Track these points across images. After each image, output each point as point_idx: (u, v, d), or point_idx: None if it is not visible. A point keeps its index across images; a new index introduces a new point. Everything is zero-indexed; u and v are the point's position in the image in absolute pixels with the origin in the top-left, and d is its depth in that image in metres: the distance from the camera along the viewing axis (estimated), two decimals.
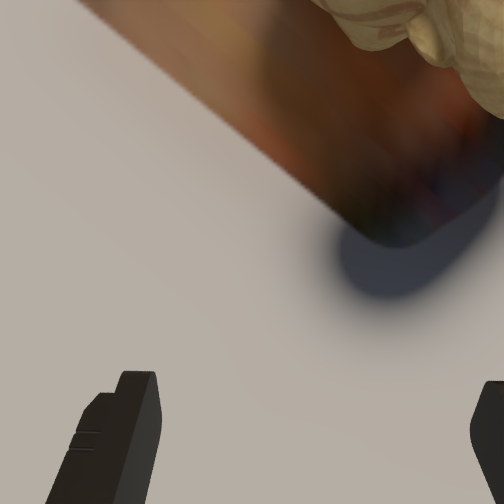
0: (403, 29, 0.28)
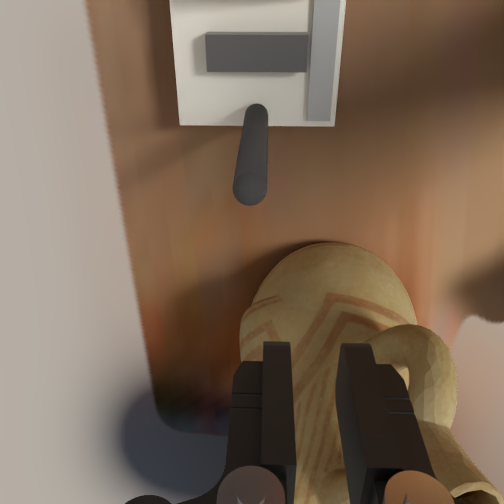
0: None
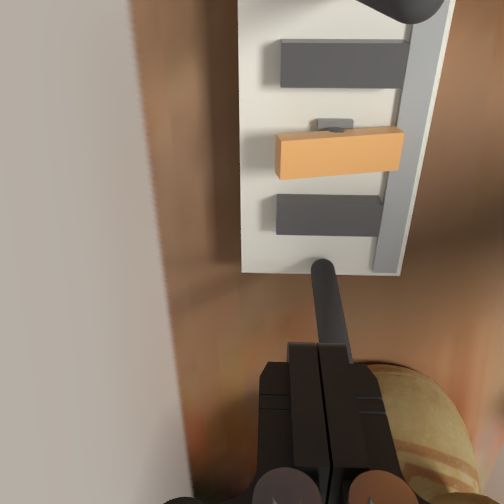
0: None
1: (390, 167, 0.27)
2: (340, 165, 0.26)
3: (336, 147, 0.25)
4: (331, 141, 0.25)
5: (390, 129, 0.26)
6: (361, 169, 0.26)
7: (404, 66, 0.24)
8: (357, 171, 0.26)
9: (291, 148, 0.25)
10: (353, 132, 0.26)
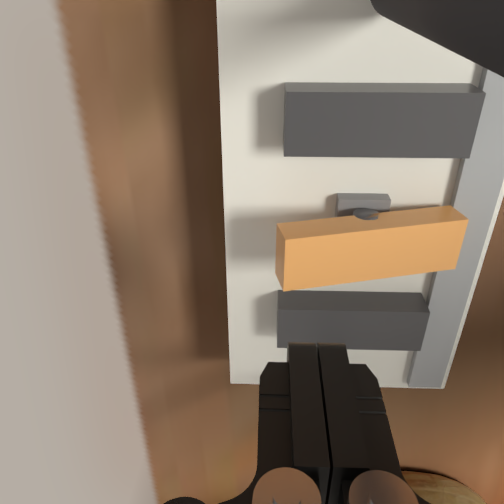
0: None
1: (444, 266, 0.18)
2: (372, 267, 0.18)
3: (367, 244, 0.17)
4: (360, 236, 0.17)
5: (446, 212, 0.18)
6: (402, 271, 0.18)
7: (475, 126, 0.16)
8: (396, 273, 0.18)
9: (300, 249, 0.16)
10: (393, 220, 0.17)
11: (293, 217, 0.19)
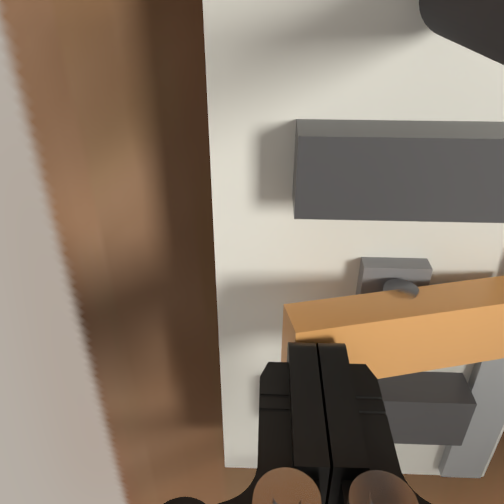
0: None
1: (500, 353, 0.14)
2: (409, 359, 0.13)
3: (404, 333, 0.13)
4: (396, 324, 0.12)
5: None
6: (447, 362, 0.14)
7: None
8: (439, 365, 0.14)
9: None
10: (437, 300, 0.13)
11: (304, 284, 0.15)
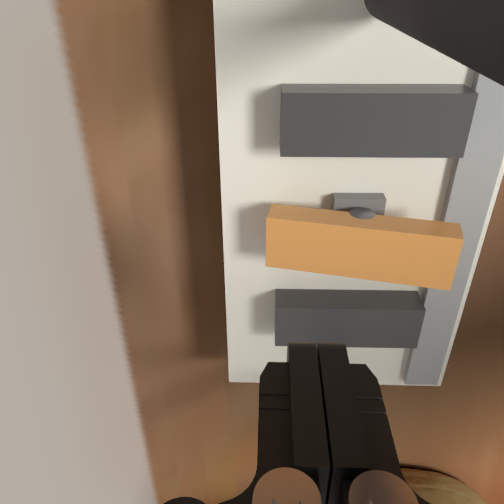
0: None
1: (436, 284, 0.17)
2: (354, 264, 0.18)
3: (348, 240, 0.17)
4: (340, 230, 0.17)
5: (447, 228, 0.17)
6: (387, 277, 0.18)
7: (468, 126, 0.16)
8: (380, 278, 0.18)
9: (279, 229, 0.18)
10: (382, 223, 0.17)
11: None
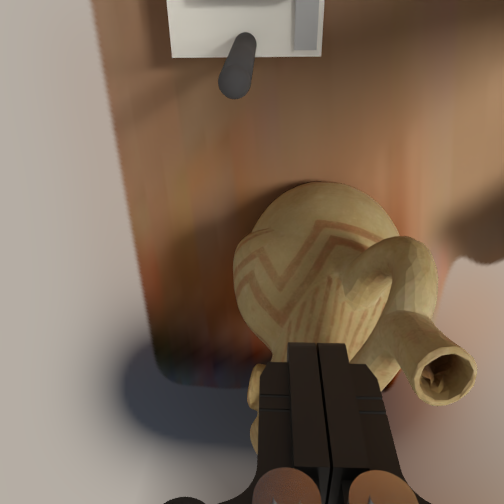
0: None
1: None
2: None
3: None
4: None
5: None
6: None
7: None
8: None
9: None
10: None
11: None
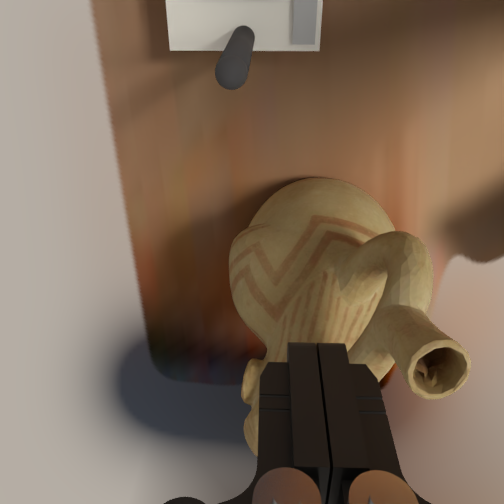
0: None
1: None
2: None
3: None
4: None
5: None
6: None
7: None
8: None
9: None
10: None
11: None
